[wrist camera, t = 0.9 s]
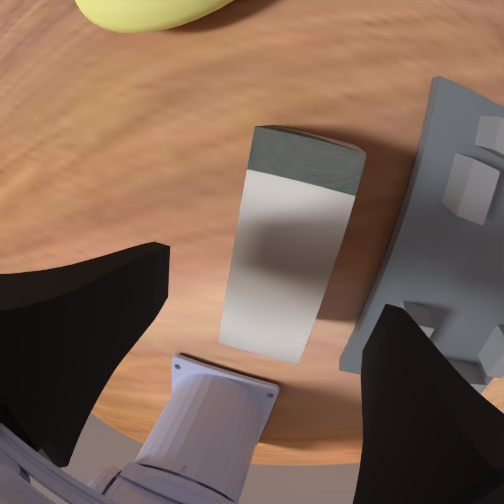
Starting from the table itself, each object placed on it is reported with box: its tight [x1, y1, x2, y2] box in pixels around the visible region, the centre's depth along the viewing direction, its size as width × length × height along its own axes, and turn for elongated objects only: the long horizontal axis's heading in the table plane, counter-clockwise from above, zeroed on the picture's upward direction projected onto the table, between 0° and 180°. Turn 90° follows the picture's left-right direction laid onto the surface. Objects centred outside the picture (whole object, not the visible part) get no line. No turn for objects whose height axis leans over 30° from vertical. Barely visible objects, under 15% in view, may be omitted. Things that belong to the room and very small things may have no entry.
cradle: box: [339, 76, 504, 393], centre depth 13 cm, size 17×12×3 cm
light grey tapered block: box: [218, 125, 367, 365], centre depth 14 cm, size 10×4×4 cm, turn 170°
